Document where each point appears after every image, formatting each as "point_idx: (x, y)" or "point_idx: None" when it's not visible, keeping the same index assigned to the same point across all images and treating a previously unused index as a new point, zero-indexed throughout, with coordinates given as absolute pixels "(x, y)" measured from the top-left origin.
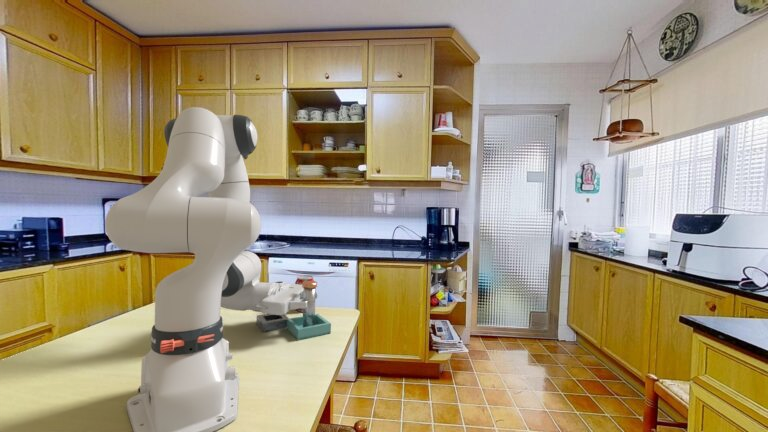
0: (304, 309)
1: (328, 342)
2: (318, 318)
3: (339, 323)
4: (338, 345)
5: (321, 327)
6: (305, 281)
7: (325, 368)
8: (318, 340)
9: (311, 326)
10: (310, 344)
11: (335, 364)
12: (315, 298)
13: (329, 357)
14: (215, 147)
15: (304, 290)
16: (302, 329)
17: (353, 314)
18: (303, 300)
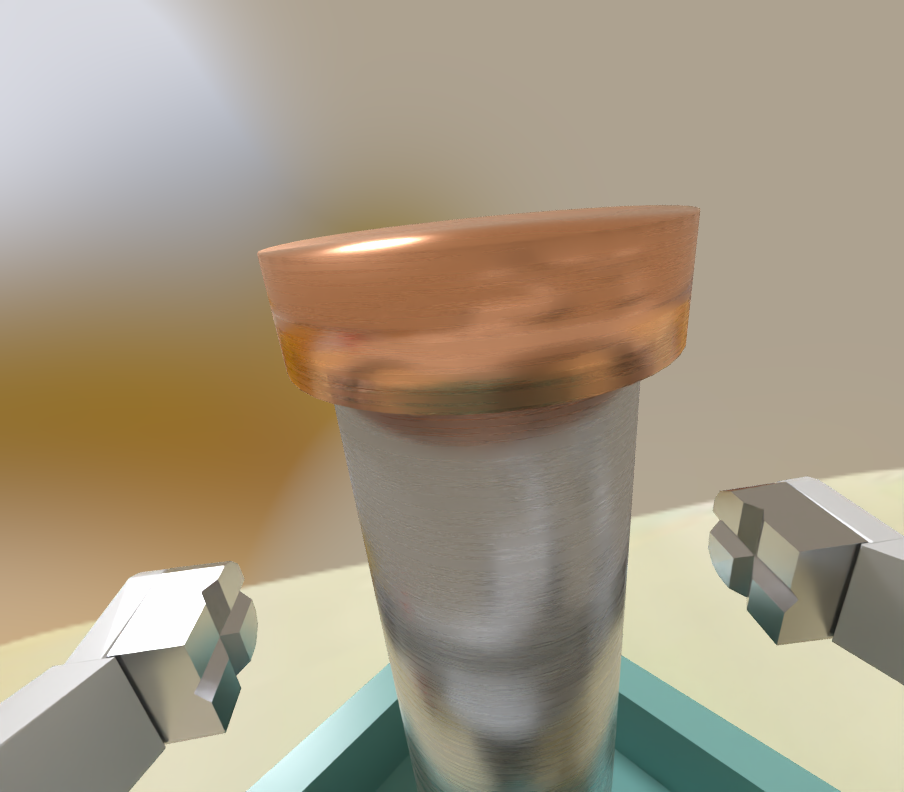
0: (613, 741)
1: (642, 589)
2: (334, 776)
3: (269, 655)
4: (639, 532)
5: None
6: (347, 254)
7: (896, 495)
8: (662, 663)
9: (650, 694)
10: (774, 688)
11: (820, 480)
12: (252, 629)
13: None
14: None
15: (629, 427)
16: (791, 765)
17: (63, 630)
18: (605, 664)
